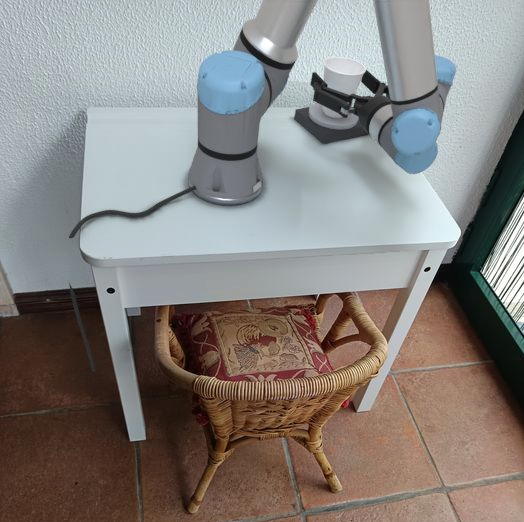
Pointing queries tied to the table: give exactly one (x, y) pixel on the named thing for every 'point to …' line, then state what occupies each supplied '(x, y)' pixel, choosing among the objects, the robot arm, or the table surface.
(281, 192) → the table surface
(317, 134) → the scale
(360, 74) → the cup
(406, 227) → the table surface
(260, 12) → the robot arm
